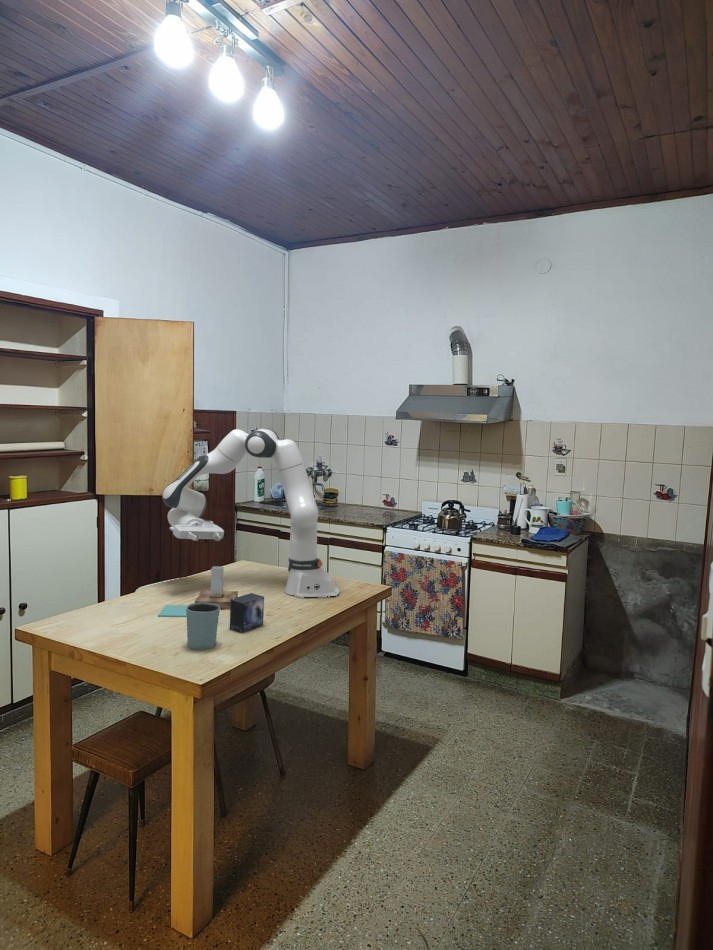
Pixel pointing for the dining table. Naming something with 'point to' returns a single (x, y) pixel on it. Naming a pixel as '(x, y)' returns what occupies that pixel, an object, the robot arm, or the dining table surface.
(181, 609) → the mat
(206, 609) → the grey-green cup
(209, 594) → the socket block
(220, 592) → the metal bar
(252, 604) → the small box
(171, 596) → the dining table surface
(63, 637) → the dining table surface
